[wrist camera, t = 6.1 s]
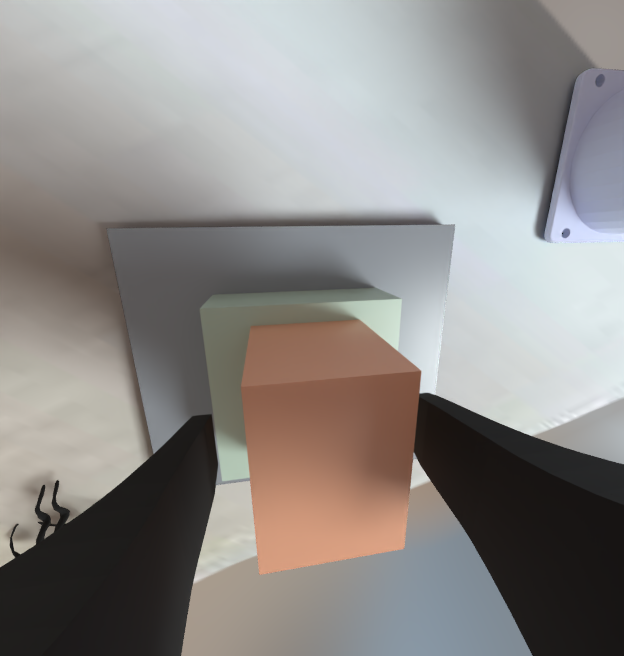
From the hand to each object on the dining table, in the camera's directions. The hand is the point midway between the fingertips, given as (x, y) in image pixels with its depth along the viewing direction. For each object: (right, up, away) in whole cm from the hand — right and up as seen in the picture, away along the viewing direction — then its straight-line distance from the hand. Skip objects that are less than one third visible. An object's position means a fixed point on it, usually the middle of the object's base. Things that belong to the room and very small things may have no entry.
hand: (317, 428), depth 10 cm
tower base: (-1, +2, +6) cm, 6 cm away
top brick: (0, +1, +2) cm, 2 cm away
